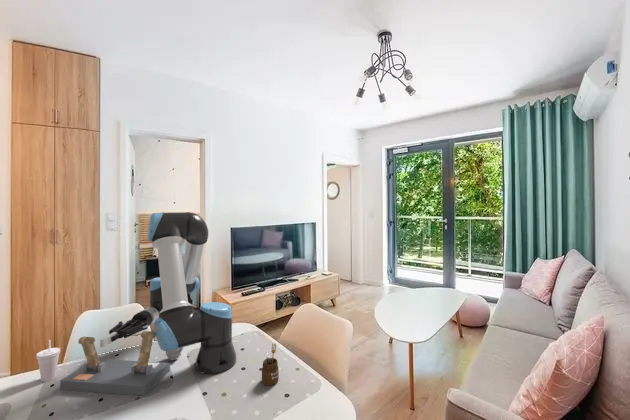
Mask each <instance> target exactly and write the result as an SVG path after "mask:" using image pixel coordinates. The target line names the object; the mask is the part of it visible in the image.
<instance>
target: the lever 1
mask: <svg viewBox="0 0 630 420" xmlns="http://www.w3.org/2000/svg"><path fill="white" fill-rule="evenodd" d="M95 342H96V338H95V337H93V336H81V337H79V339H78V342H77V343H78V344H80V345H81V346H82V350H83V352H84V356H85V359H86V362H87V363H88V364H87V369H93V370H98V365H99V364H100V363H102V362H100V361H99V359H100V358H99V356H98V353H97V349H96V346H95Z"/></svg>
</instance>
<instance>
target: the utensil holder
mask: <svg viewBox="0 0 630 420" xmlns="http://www.w3.org/2000/svg"><path fill="white" fill-rule="evenodd" d="M276 349H277V343H274V342H272V344H271V353H272V355H271V353H265V354H264V357H266V358H264V360H263V361H262V368H261V382H262V384H263V385H265V386H268V385H269V386H274V385H276V384H277V383H278V382H279V379H280V378H279V376H280V374H279V373H280V372H279V371H280V370H279V365H278V363H279V362H278V359H276V358H275V356H274V354H275V353H276V352H277V351H276ZM268 356H269V357H268ZM267 357H268V358H267Z"/></svg>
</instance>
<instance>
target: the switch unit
mask: <svg viewBox="0 0 630 420" xmlns="http://www.w3.org/2000/svg"><path fill="white" fill-rule="evenodd" d="M99 361H100V362H102V363H100V364H99V365H98V370H93V369H87V364H88V363H87V361H86V362H84V363H83V366H82V367H80V368H78V369H77V370H75V371H74V372H72V373H71V374H68V375H67V376H65V377H64V378H61V380H60V382H59V383H60V386H59V387H60V390H65V391H76V392H77V391H78V392H92V393H103V394H104V393H106V394H117V395H118V394H120V395H133V396H145V395H146V394H147V393H149V392H150V390H152V389H153V388H154V387H155V386H156V385H157V384H158V383H159V382H160V381H161V380H162V379H164V377H165V376H166V375H167V374H168V373H170V371H171V363H170V362H159V361H158V362H157V361H149V362H148V365H149V366H148V367H146V373H140V372H134V368H135V366H136V365H137V363H138V360H125V359H111V358H110V359H108V358H107V359H106V358H99Z"/></svg>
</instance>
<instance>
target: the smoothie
mask: <svg viewBox="0 0 630 420" xmlns="http://www.w3.org/2000/svg"><path fill="white" fill-rule="evenodd" d="M51 341H52V340H51V339H48V348H46V349H43V350H40V351H39V352H37V353H36V356H35V357H36V358H35V359H37V362H38V368H39V374H40V379H41V382H42V383H46V382H50V381H52V380H54V379H55V378H56V377H57V376H56V375H57V370H58V365H59V358H60V353H61V347H52V343H51Z"/></svg>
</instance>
